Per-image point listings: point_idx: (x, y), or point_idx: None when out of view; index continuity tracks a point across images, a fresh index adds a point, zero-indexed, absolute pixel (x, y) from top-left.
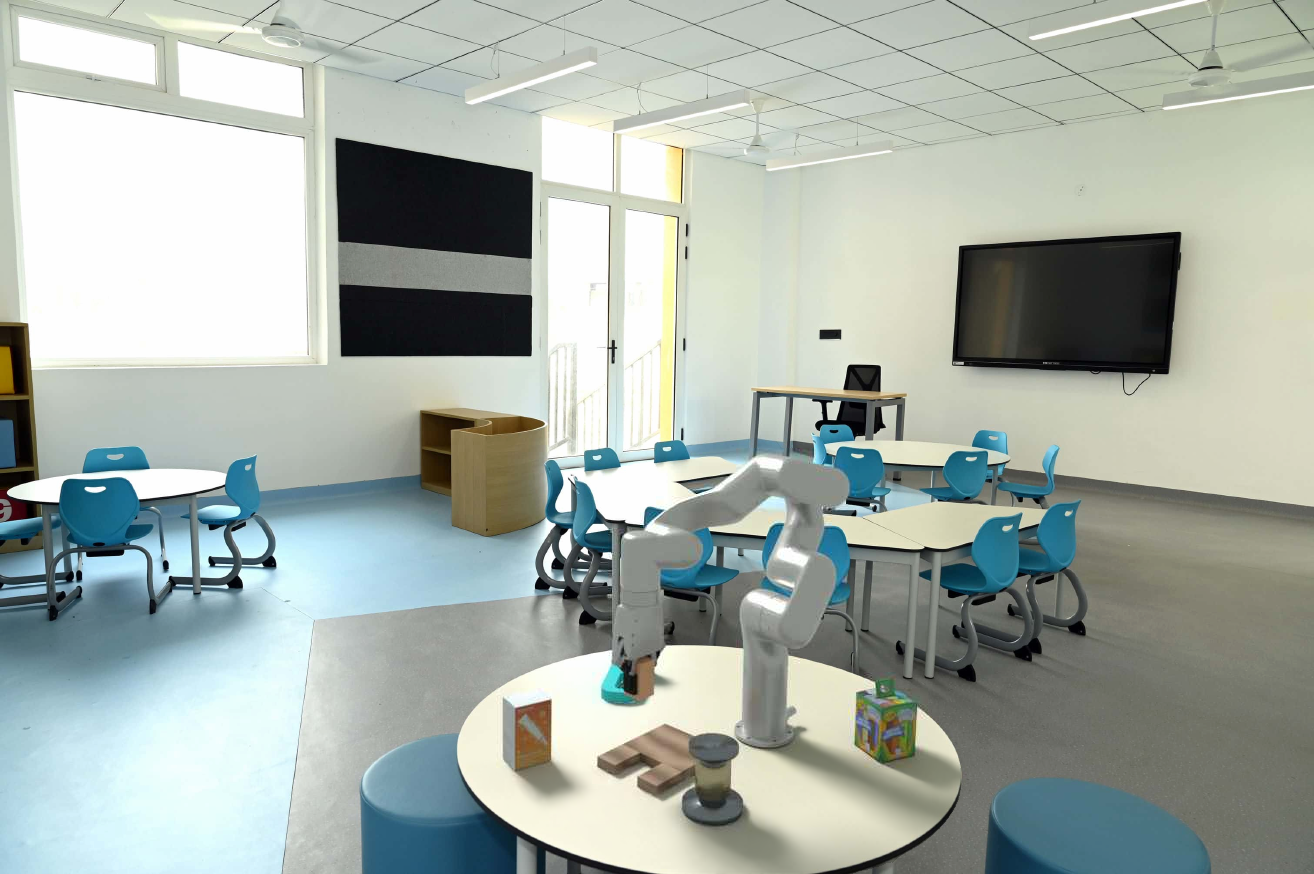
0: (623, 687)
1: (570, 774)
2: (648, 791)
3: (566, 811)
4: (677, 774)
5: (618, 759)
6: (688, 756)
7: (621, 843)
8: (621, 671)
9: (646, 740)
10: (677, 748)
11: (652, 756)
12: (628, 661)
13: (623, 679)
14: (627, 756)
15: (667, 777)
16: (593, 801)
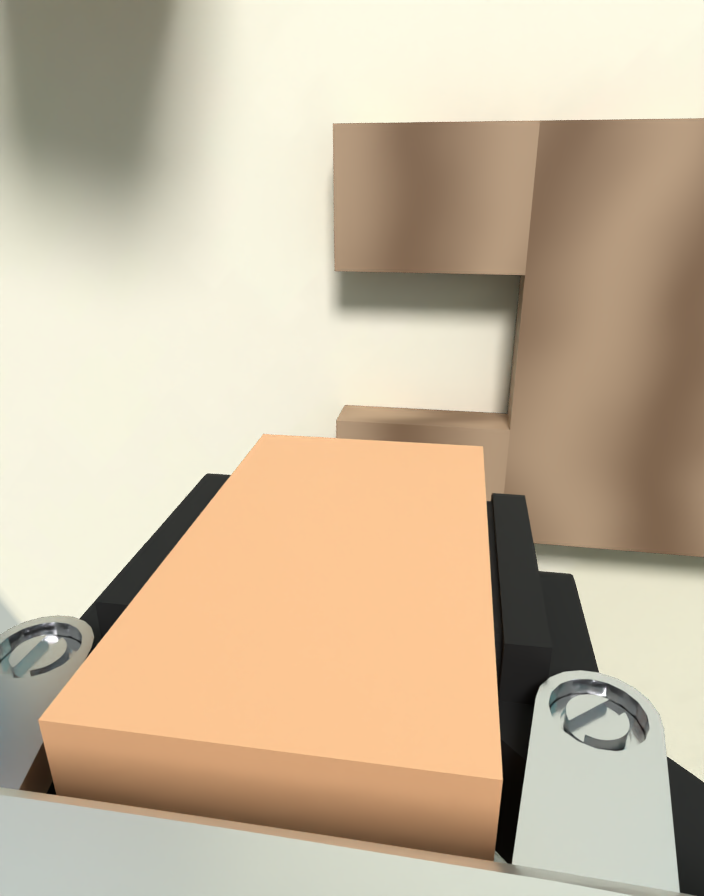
0: (197, 486)
1: (193, 89)
2: None
3: (25, 321)
4: None
5: (389, 240)
6: (648, 485)
7: (75, 578)
8: (25, 624)
9: (674, 198)
10: (692, 396)
11: (532, 353)
12: (70, 777)
13: (157, 530)
14: (445, 254)
15: None
16: (142, 348)
